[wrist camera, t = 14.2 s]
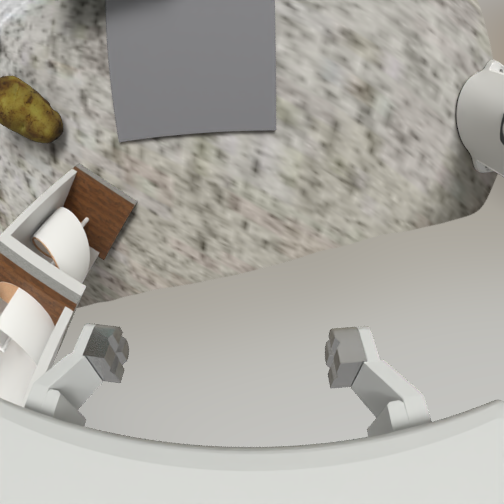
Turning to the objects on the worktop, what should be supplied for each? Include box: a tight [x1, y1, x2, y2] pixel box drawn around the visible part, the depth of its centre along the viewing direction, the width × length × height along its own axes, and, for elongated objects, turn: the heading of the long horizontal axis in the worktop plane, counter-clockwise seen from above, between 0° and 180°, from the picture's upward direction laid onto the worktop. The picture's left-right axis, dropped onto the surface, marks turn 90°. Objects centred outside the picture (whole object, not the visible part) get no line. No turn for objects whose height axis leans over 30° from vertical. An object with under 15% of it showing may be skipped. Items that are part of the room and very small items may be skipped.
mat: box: [106, 0, 276, 142], centre depth 29 cm, size 20×20×1 cm
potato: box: [0, 76, 63, 143], centre depth 27 cm, size 8×13×8 cm, turn 20°
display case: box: [0, 163, 137, 407], centre depth 27 cm, size 11×11×35 cm
